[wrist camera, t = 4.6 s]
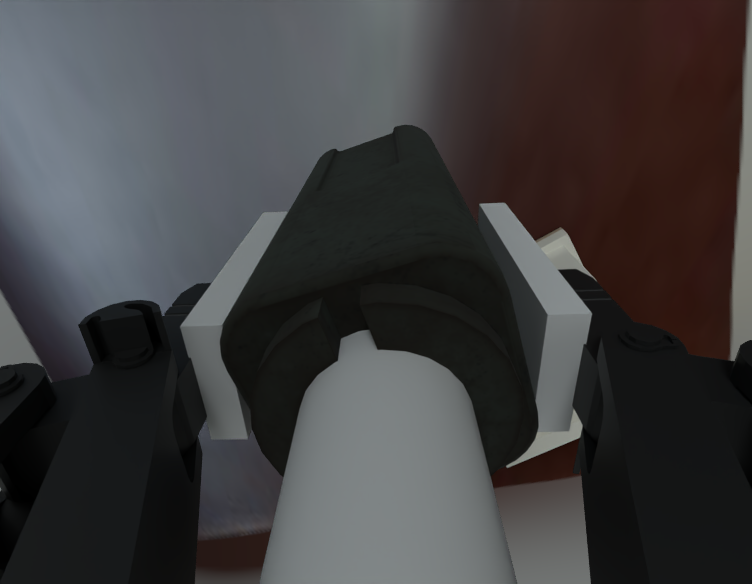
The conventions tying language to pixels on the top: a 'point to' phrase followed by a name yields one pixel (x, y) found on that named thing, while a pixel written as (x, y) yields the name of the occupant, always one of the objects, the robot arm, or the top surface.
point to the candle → (383, 375)
